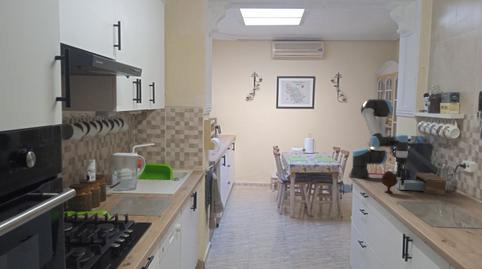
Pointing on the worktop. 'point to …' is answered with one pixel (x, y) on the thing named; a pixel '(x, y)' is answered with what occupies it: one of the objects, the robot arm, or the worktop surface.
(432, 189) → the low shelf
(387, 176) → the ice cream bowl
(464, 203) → the worktop surface
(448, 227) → the worktop surface
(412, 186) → the grey slate tile
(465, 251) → the worktop surface
